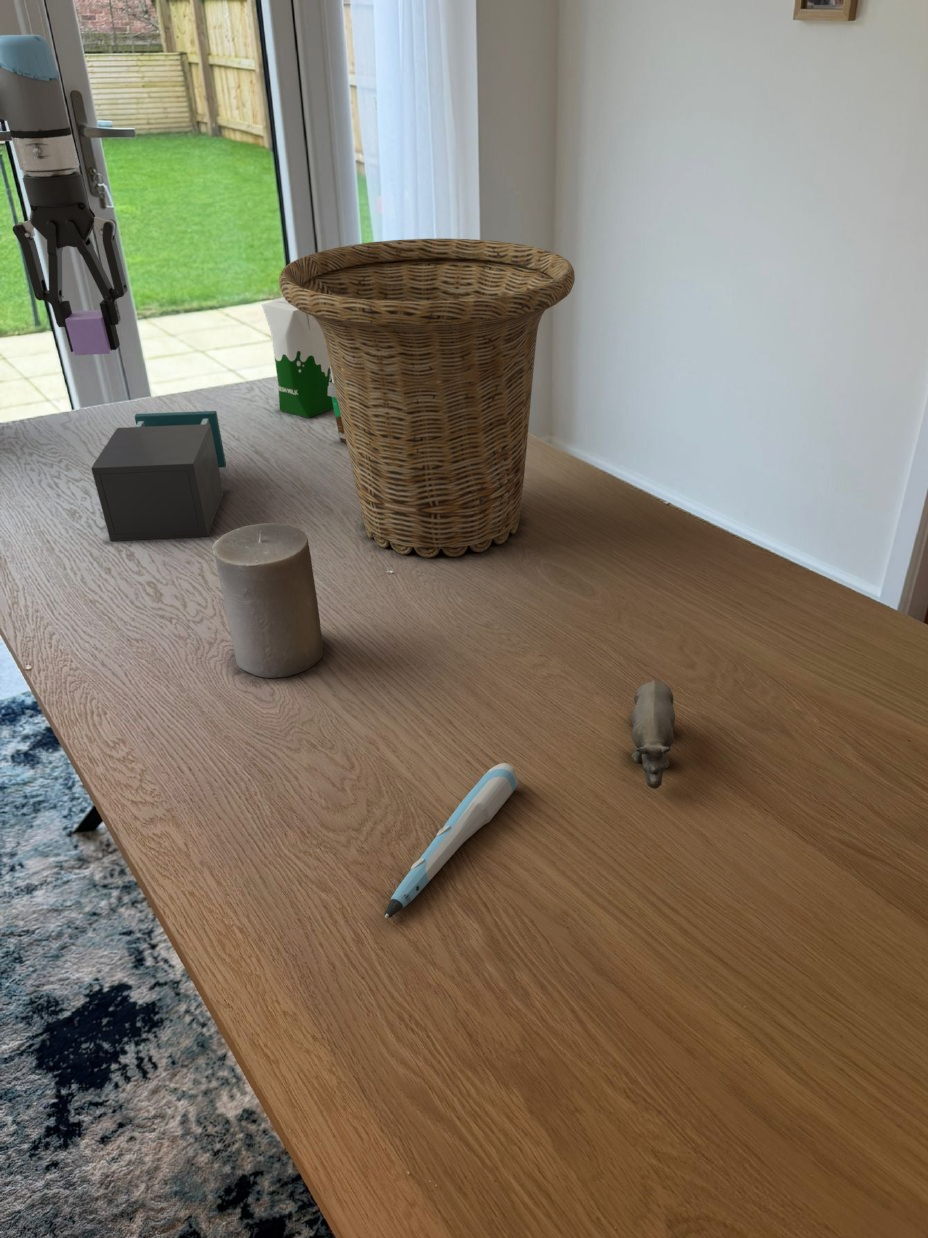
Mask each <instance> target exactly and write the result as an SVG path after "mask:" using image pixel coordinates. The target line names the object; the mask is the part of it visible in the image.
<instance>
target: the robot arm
mask: <svg viewBox="0 0 928 1238" xmlns="http://www.w3.org/2000/svg"><path fill="white" fill-rule="evenodd" d="M60 77H61V76H60V72H59V71H58V68H57V66H56V62H55V59H54V55H53V51H52V48H51V46H50V44H49V41H48V40H47V38H45V37H43V36H42V35H39V34H0V122H6V123H7V127H8V130H9V133H10V137H11V141H12V145H13V149H14V152H15V155H16V160H17V163H18V167H19V169H20V170H21V171H22V172H25V174H24V175H23V177H22V182H23V186H24V190H25V194H26V198H27V201H28V204H29V207H30V214H29V219H28V220H26V221H21V222H18V223H17V224H15V225H13V226H12V229H11V230H12V232H13V234H14V235H15V237H16V239H17V240H18V242H19V244H20V246H21V250H22V253H23V259H24V261H25V265H26V269H27V272H28V276H29V280H30V283H31V288H32V291H33V295H34V298H35V299H36V300H37V301H44V302H47V303H48V304H49V305H51V309H52V312H53V316H54V319H55V323H56V325H57V327H58V328H64V331H65V335H66V338H67V342H68V346H69V350H70V352H71V353H74V352H73V348H72V344H71V340H70V337H69V333H68V329H67V325H66V321H65V320H66V319H67V318H68V317H69V316H70V315H71V314H72V313H73V310H72V307H71V302H70V300H63V299H64V296H65V295H63V251H64V248H66V247H70V248H76V249H77V251H78V253H79V255H81V257H82V258H83V261H84V262H85V265H86V267H87V268H88V269H87V270H88V271H89V273H90V275H91V277H92V279H93V281H94V283H95V286H96V287H97V289H98V290H99V293H100V295H101V296H102V300H101V301H100V302H99V308H100V310H101V312H102V316H103V320H104V324H105V328H106V332H107V336H108V340H109V344H110V348H111V350H112V351H116V350H117V349H118V348H119V347H120V345H121V343H120V338H119V333H118V329H117V327H116V326H118V325H119V324H121V321H122V320H121V319H122V318H121V314H120V310H119V305H118V299H120V298H123V297H124V296H125V295H126V294H127V292H128V291H129V290H128V284H127V281H126V277H125V273H124V267H123V264H122V260H121V255H120V252H119V248H118V244H117V243H118V242H117V240H116V233H117V222H116V220H114V219H113V218H110V219H105V218H102V217H99V216H96V214H95V212H94V211H93V210H92V209H91V206H90V204H89V199H88V195H87V190H86V187H85V182H84V178H83V174H82V173H81V172H80V171H78V170H77V168H79V167H80V162H79V158H78V153H77V149H76V146H75V142H74V138H73V134H72V130H71V129H72V128H71V126H70V124H69V120H68V114H67V111H66V105H65V99H64V94H63V90H62V85H61V81H60ZM94 227H96V229H97V233H98V234H99V236H101V237H102V244H103V245H102V246H103V250H104V253H105V257H106V261H107V266H108V269H109V273H110V277H111V281H110V279H109V277H108V275H107V273H106V271H105V269H104V267H103V264H102V263H101V260H100V259H99V257H98V254H97V252H96V251H95V246H94V244H93V242H92V239H91V238H90V235H91V233H92V231H93V228H94ZM35 230H36V231H37V232H38V233H39V234H40V235H41V236H42V237H43V238H44V239H45V240H46V251H47V252H46V253H47V260H48V261H47V262H48V263H47V265H48V266H47V267H48V287H47V282H46V278H45V274H44V269H43V266H42V263H41V259H40V255H39V250H38V246H37V243H36V240H35V238H34V237H35V235H36V232H35Z"/></svg>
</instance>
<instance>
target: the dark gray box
mask: <svg viewBox="0 0 928 1238" xmlns="http://www.w3.org/2000/svg"><path fill="white" fill-rule="evenodd" d="M90 469H91V473H92V477H93V480H94V484H95V488H96V492H97V497H98V499H99V503H100V507H101V511H102V514H103V519H104V522H105V526H106V529H107V534H108V538H109V541H110V542H121V541H122V542H123V541H142V540H143V541H144V540H160V539H161V540H162V539H163V540H164V539H180V538H181V539H183V538H203V537H204V538H207V537H209V534H210V531H211V528H212V525H213V522H214V520H215V517H216V515H217V512H218V509H219V506H220V503H221V501H222V498H223V494H224V488H223V482H222V477H221V473H220V468H219V466H218V461H217V456H216V451H215V445H214V440H213V435H212V429H211V425H210V424H201V425H176V426H150V427H135V426H127V427H116V429H115V431H114V432H113V434H112V435H111V437H110V438H109V440H108V441H107V442H106V445H104V447H103V449H102V451H101V452H100V453H99V455H98V457H96V459H95V461H94V463H93V464H92V465H91V467H90Z"/></svg>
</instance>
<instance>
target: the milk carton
mask: <svg viewBox="0 0 928 1238" xmlns="http://www.w3.org/2000/svg"><path fill="white" fill-rule="evenodd" d="M261 306H262V310H263V313H264V316H265V318H266V323H267V325H268V327H269V332H270V337H271V343H272V350H273V355H274V356H273V358H274V364H275V371H276V377H277V385H278V402H279V403H278V404H279V411H280V412H285V413H287V414H291V415H295V416H299V417H303V418H306V419H310V418H312V417H314V416H318V415H321V414H322V413H325V412H328V411H330V410H334V407H333V403H332V398H331V396H327V395H328V386H329V382H332V383H333V376H332V370H331V366H330V361H329V356H328V352H327V347H326V342H325V338H324V335H323V332H322V330H321V328H320V326H319V324H318V322H317V321H316V319H315V318H314V317H313V316H311V315H309V314H306V313H304V312H302V311H300V310H299V309H297V308H296V307H294V306H293V305H291V304H289V303H288V302H287V301H286V300H285V298H284V297H281V298H276V299H273V300H272V301H269V302H265V303H262V304H261Z"/></svg>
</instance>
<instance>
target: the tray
mask: <svg viewBox="0 0 928 1238" xmlns="http://www.w3.org/2000/svg"><path fill="white" fill-rule="evenodd" d="M134 421H135V426H134V427H150V426H176V425H201V424H210V425H211V429H212V435H213V440H214V445H215V451H216V456H217V461H218V466H219V469H223V468H226V466H227V462H226V457H225V451H224V446H223V445H224V444H223V441H222V434H221V428H220V423H219V418H218V412H217V410H201V411H200V410H199V411H179V412H178V411H177V412H152V413H151V412H149V413H136V414H135V415H134Z"/></svg>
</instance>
